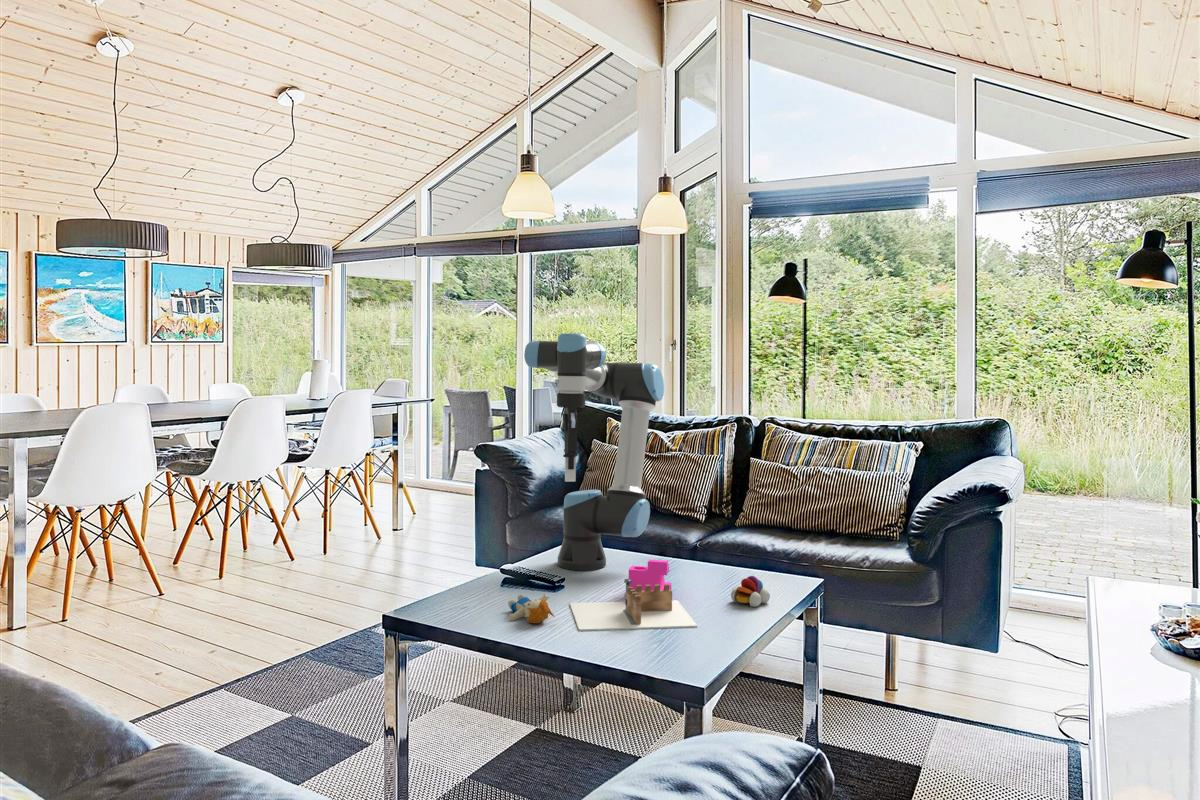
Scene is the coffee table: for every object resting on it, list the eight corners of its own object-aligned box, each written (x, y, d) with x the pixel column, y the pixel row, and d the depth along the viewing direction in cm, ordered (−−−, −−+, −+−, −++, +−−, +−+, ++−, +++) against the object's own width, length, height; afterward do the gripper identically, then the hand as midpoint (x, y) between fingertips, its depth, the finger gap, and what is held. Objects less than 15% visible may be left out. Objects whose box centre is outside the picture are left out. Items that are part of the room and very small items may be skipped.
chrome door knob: (623, 610, 220) (623, 579, 220) (630, 609, 220) (630, 578, 220) (624, 612, 218) (625, 580, 218) (631, 611, 219) (632, 580, 218)
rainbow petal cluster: (726, 603, 229) (727, 576, 228) (746, 596, 236) (747, 570, 235) (753, 610, 223) (754, 583, 223) (773, 602, 230) (774, 576, 230)
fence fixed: (633, 611, 219) (634, 586, 219) (632, 610, 220) (633, 584, 220) (671, 610, 220) (672, 585, 220) (670, 608, 222) (671, 583, 221)
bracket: (666, 600, 229) (666, 562, 228) (628, 598, 231) (628, 560, 230) (671, 590, 240) (672, 553, 240) (635, 587, 242) (636, 551, 242)
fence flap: (624, 611, 218) (625, 585, 218) (631, 610, 219) (632, 585, 218) (635, 624, 208) (635, 597, 208) (642, 623, 209) (642, 597, 208)
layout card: (570, 604, 225) (570, 602, 225) (677, 601, 229) (677, 599, 229) (579, 631, 205) (579, 629, 204) (697, 627, 209) (697, 625, 209)
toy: (532, 582, 223) (558, 590, 210) (541, 602, 224) (567, 612, 211) (493, 605, 217) (517, 615, 204) (502, 626, 218) (527, 637, 205)
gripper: (554, 390, 231) (553, 477, 232) (559, 393, 218) (558, 485, 219) (582, 391, 232) (581, 477, 233) (588, 393, 219) (587, 484, 220)
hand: (570, 481), depth 226 cm, fingers closed
